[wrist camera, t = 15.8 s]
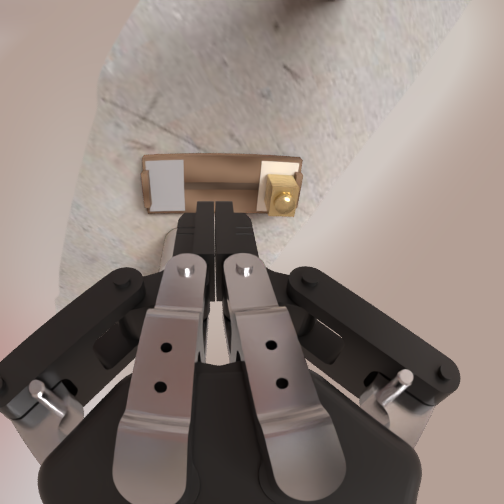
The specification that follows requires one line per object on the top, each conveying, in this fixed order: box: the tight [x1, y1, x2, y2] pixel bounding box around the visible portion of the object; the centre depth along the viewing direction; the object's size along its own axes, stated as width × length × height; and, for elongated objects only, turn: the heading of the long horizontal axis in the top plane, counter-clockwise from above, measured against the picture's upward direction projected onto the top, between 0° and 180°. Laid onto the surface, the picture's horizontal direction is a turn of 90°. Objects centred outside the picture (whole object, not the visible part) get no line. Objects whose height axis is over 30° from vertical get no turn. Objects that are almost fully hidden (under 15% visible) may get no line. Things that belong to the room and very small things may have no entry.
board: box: [141, 153, 303, 213], centre depth 44 cm, size 10×25×3 cm, turn 85°
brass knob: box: [264, 174, 299, 217], centre depth 43 cm, size 5×4×6 cm
